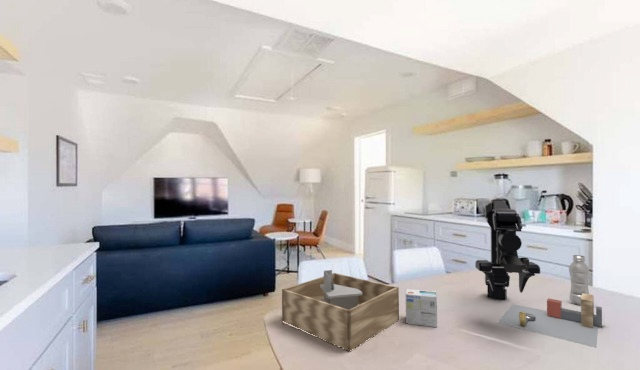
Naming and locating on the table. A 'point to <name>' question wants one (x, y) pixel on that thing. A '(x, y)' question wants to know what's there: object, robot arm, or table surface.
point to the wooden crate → (341, 310)
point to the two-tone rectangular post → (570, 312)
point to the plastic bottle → (578, 279)
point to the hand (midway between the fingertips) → (507, 291)
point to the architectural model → (339, 293)
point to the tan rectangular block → (587, 310)
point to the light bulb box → (421, 307)
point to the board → (551, 325)
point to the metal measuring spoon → (525, 318)
